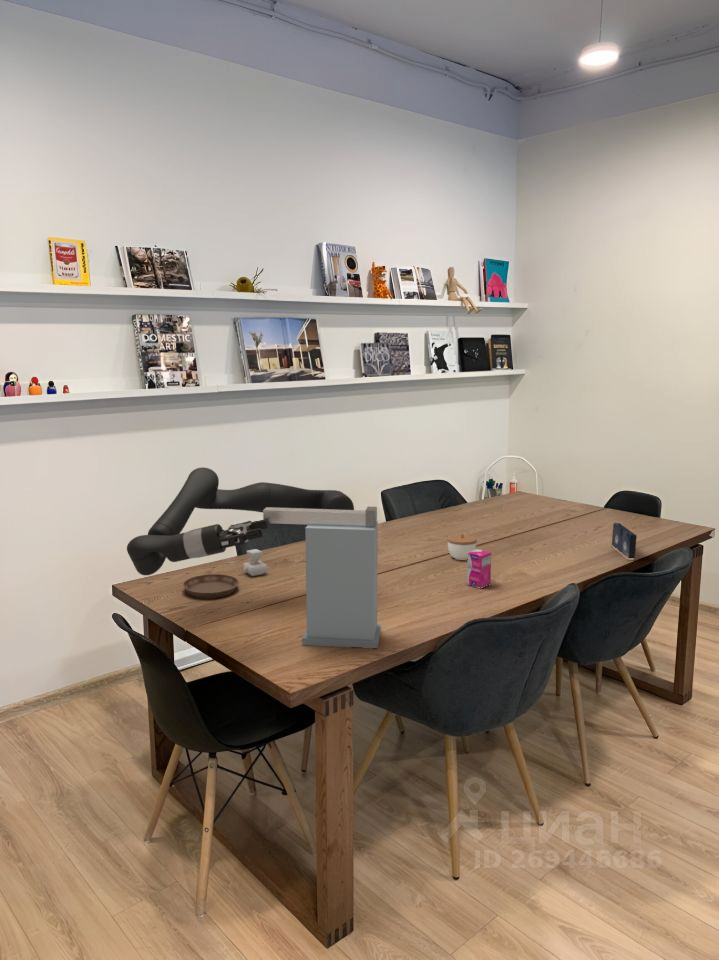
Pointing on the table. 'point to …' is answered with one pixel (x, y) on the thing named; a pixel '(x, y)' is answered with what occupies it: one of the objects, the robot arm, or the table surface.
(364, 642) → the stand
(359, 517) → the shaft
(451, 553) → the lidded jar
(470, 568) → the supplement box
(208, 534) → the robot arm
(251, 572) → the stamp
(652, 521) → the table surface
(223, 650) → the table surface
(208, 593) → the plant saucer
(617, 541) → the vhs cassette tape
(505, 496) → the table surface
